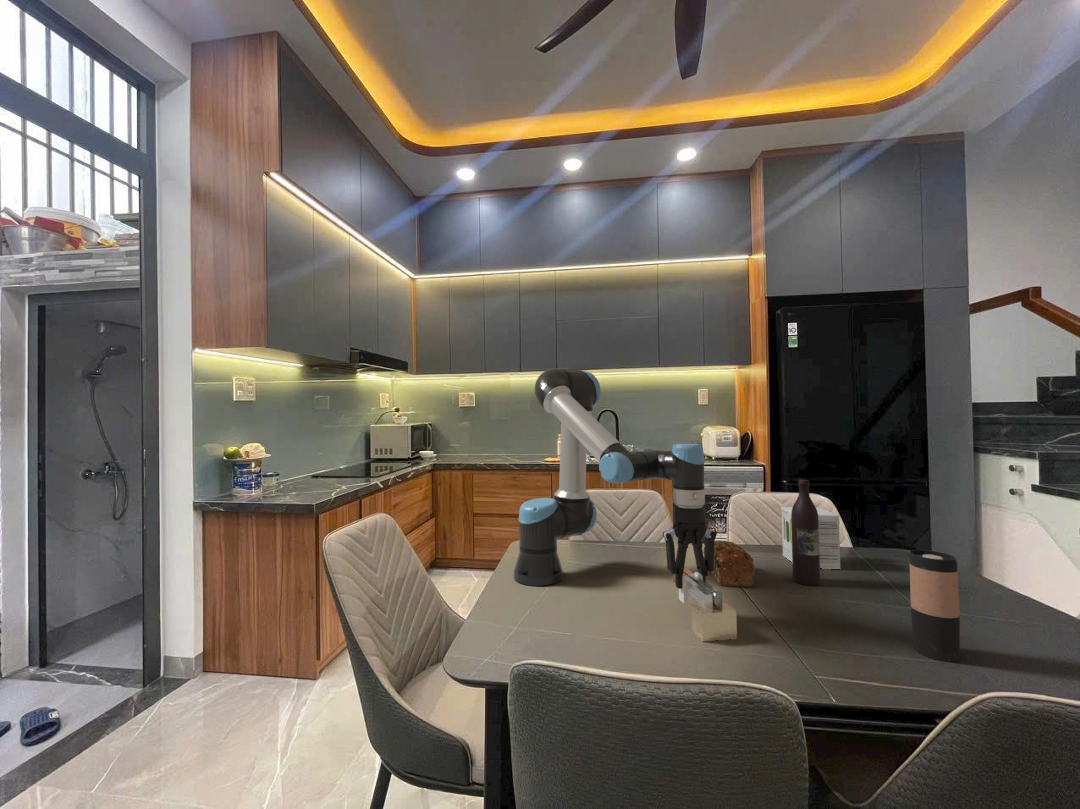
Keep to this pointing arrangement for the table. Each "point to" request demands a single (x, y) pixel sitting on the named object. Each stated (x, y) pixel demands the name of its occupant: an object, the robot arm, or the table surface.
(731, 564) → the bread
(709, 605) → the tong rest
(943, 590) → the travel mug
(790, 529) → the supplement box
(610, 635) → the table surface
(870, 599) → the table surface
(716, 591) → the tong arm
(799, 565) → the wine bottle
